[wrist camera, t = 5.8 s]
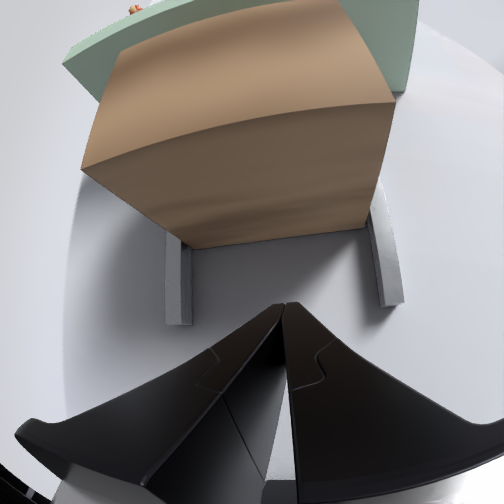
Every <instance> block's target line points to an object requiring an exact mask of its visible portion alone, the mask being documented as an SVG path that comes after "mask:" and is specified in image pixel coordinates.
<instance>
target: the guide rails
mask: <svg viewBox="0 0 504 504" xmlns="http://www.w3.org/2000/svg"><path fill="white" fill-rule="evenodd" d="M367 223H368V228H369V234H370V239H371V245H372V251H373V257H374V264H375V270H376V277H377V285H378V293H379V301H380V308H384V307H390V306H397V305H400V304H402V303H404V295H403V288H402V280H401V274H400V268H399V261H398V256H397V250H396V245H395V239H394V234H393V230H392V225H391V220H390V216H389V211H388V207H387V203H386V198H385V194H384V190H383V187H382V183H381V179H380V175H379V178H378V181H377V185H376V189H375V192H374V196H373V199H372V203H371V206H370V210H369V213H368V216H367ZM165 324H170V325H193V319H192V248H191V247H190V246H188V245H187V244H186V243H184V242H183V241H181V240H180V239H178V238H177V237H175V236H174V235H172V234H171V233H169V232H168V231H166V252H165Z"/></svg>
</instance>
